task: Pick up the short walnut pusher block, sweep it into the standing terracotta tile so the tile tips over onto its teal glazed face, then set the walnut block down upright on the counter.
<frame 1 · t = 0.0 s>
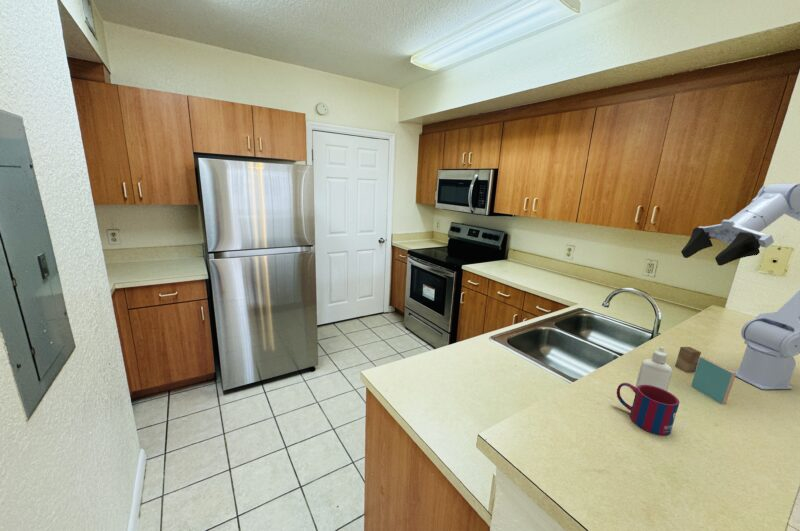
hand: (700, 258, 74), 32 cm above the table, tool tilted 50°, fingers open, 7 cm apart
eye dropper bottle: (649, 394, 76), on the table
mug: (640, 419, 67), on the table
tile: (708, 394, 78), on the table
pusher block: (684, 369, 89), on the table
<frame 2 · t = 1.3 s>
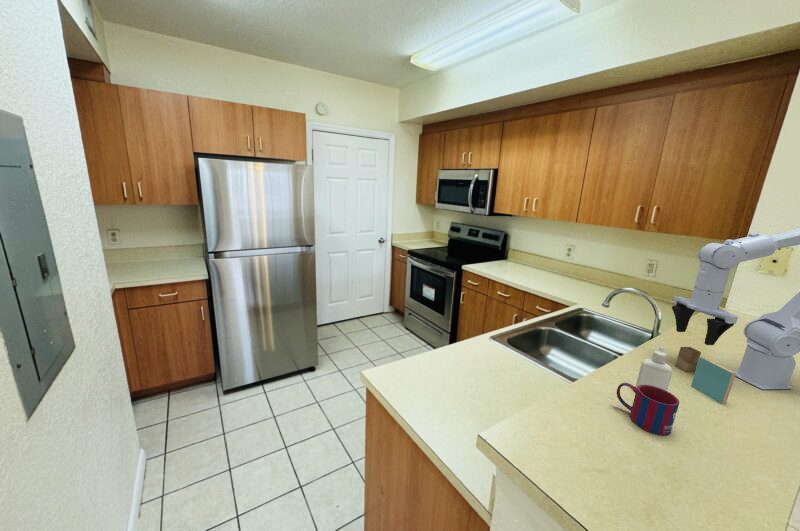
hand: (694, 337, 87), 9 cm above the table, tool pointing down, fingers open, 7 cm apart
nothing on the table moved.
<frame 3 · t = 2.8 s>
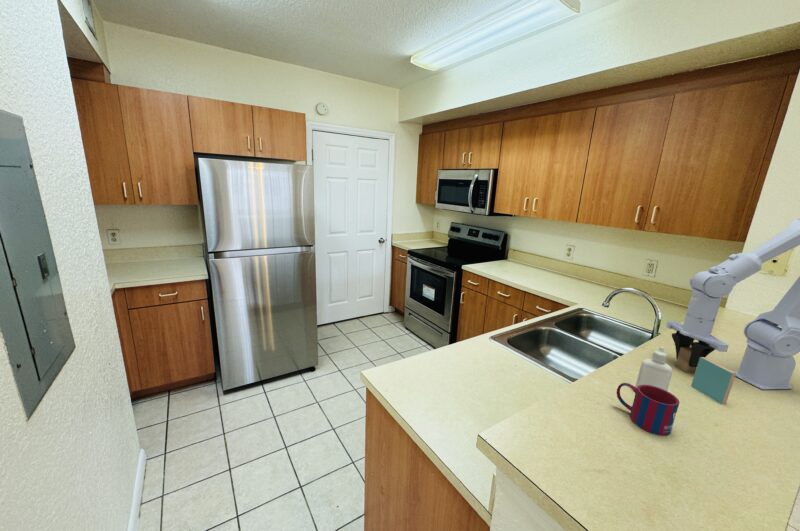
hand: (686, 362, 89), 2 cm above the table, tool pointing down, fingers closed on pusher block, 3 cm apart
pusher block: (684, 369, 89), on the table, touching gripper
everything else where it was.
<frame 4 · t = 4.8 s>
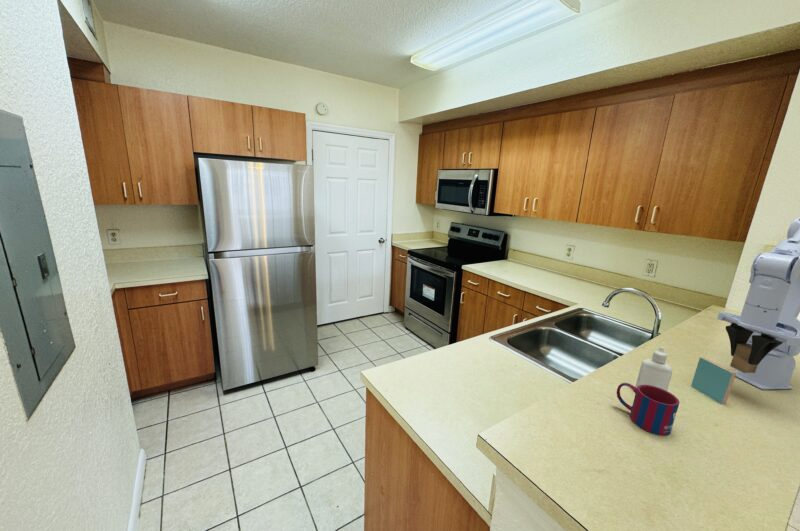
hand: (744, 359, 76), 9 cm above the table, tool pointing down, fingers closed on pusher block, 3 cm apart
pusher block: (742, 369, 77), point 7 cm above the table, touching gripper
everything else where it was.
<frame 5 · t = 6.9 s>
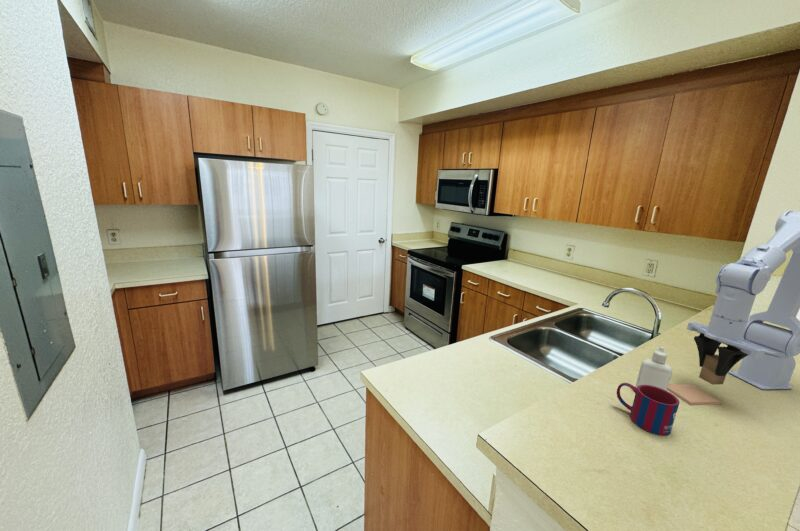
hand: (712, 370, 76), 6 cm above the table, tool pointing down, fingers closed on pusher block, 3 cm apart
tile: (705, 394, 77), on the table, tilted 90°
pusher block: (710, 380, 77), point 4 cm above the table, touching gripper
everything else where it was.
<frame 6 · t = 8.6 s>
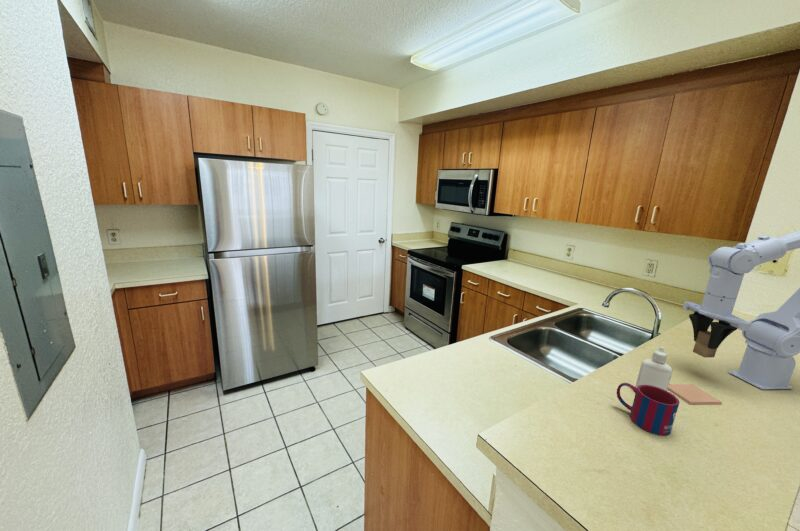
hand: (705, 344, 84), 9 cm above the table, tool pointing down, fingers closed on pusher block, 3 cm apart
pusher block: (703, 354, 85), point 6 cm above the table, touching gripper
everything else where it was.
when the fingers open (3 cm above the table, at t = 10.2 s): pusher block stays where it is, on the table.
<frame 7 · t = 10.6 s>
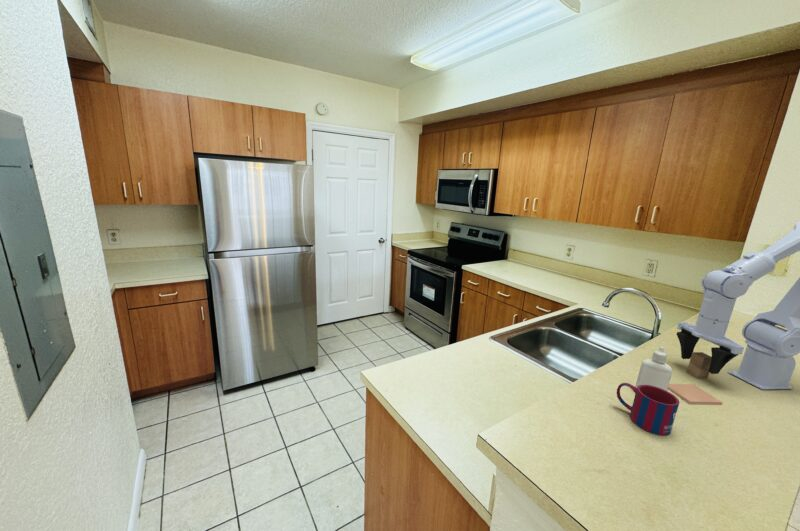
hand: (698, 365, 85), 3 cm above the table, tool pointing down, fingers open, 7 cm apart
pusher block: (696, 375, 86), on the table
everything else where it was.
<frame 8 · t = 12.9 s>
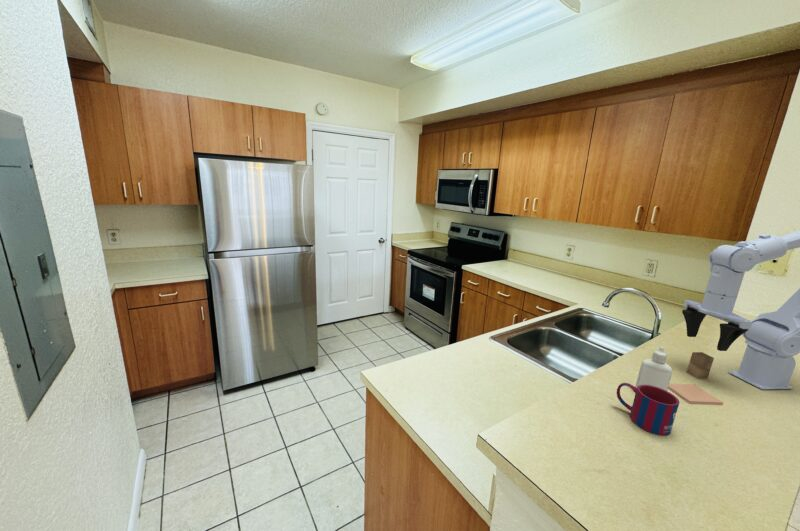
hand: (705, 343, 84), 9 cm above the table, tool pointing down, fingers open, 7 cm apart
nothing on the table moved.
at the end: tile tilted 90°; pusher block tilted 0°; the gripper is holding nothing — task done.
